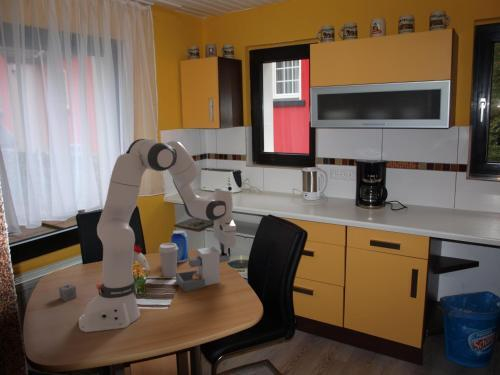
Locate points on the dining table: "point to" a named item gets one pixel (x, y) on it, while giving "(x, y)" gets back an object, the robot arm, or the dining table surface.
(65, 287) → the grey cube with hole
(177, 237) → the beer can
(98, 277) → the dining table surface
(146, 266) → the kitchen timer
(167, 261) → the coffee cup
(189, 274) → the tray
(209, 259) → the block
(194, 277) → the copper ball
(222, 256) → the shaft
